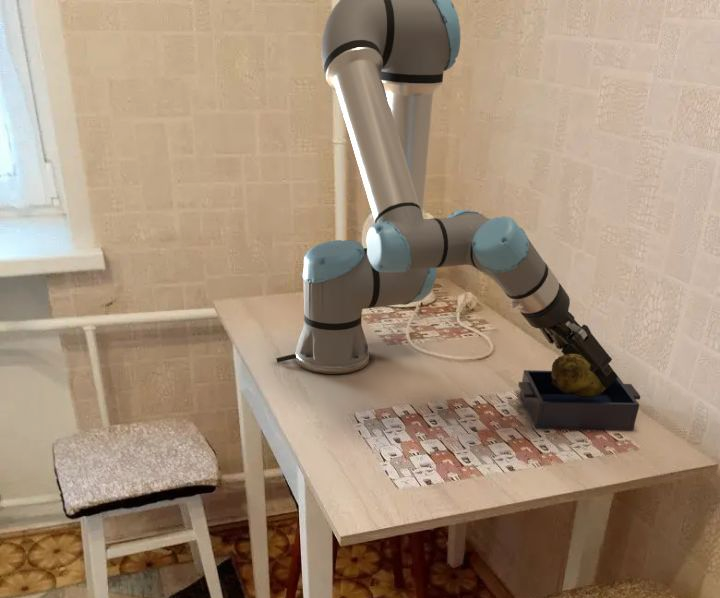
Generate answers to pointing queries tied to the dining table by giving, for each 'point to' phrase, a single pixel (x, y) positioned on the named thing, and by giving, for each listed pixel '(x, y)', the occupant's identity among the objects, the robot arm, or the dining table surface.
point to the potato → (575, 376)
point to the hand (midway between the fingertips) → (596, 373)
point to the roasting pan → (578, 406)
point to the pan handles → (529, 393)
